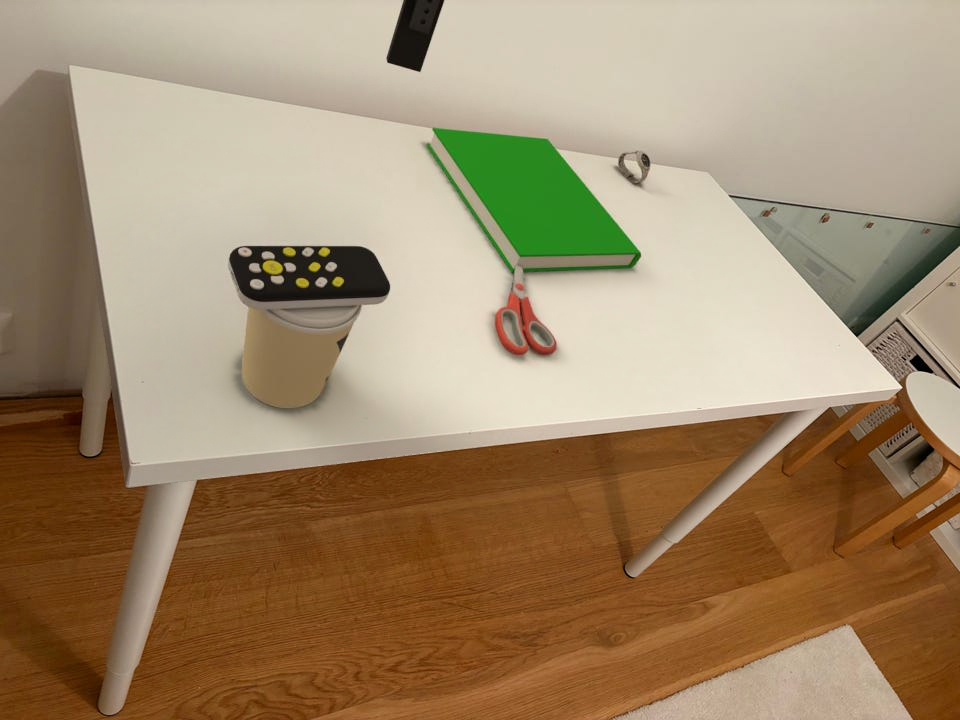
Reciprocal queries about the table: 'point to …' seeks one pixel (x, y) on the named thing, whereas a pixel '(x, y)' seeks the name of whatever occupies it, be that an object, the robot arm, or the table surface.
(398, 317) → the table surface
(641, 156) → the wristwatch
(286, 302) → the remote control
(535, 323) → the scissors
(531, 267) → the book
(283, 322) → the coffee cup
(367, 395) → the table surface
